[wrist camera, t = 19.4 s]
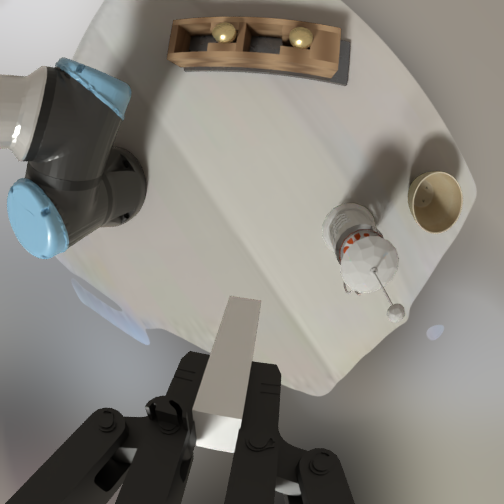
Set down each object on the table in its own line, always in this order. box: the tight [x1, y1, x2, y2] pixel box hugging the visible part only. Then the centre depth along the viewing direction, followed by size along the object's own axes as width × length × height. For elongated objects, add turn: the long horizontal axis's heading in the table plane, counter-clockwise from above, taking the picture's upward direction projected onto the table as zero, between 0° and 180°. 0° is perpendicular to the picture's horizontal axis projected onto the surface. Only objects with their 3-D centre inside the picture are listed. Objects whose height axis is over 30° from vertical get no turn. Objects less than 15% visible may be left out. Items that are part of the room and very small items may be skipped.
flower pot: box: [408, 171, 463, 234], centre depth 38 cm, size 10×10×7 cm
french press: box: [322, 203, 405, 322], centre depth 35 cm, size 10×12×25 cm
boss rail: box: [184, 22, 350, 86], centre depth 31 cm, size 26×8×10 cm, turn 84°
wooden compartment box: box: [167, 17, 341, 78], centre depth 32 cm, size 24×7×6 cm, turn 84°
